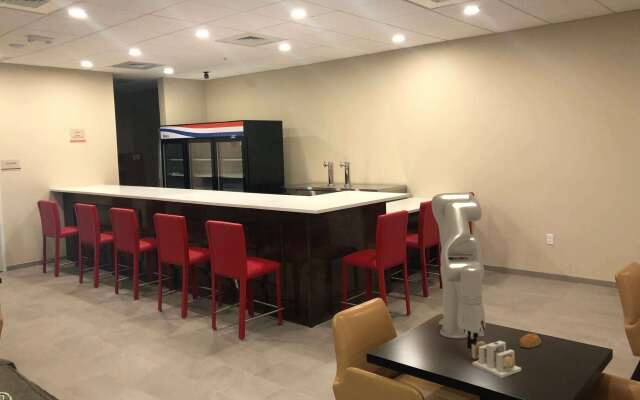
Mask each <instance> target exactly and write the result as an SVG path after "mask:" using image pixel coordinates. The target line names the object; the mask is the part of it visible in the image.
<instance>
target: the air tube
mask: <svg viewBox="0 0 640 400" xmlns="http://www.w3.org/2000/svg"><path fill="white" fill-rule="evenodd" d="M484 345H486V341H483V340H481V341H477V343H473V344H472V349H471V358H473V359H475V360H476V359H479V347H480V346H484ZM498 353H499V351H497V350H496V351H494V362H496V354H498ZM484 354H485V358H487V348H486V349H484ZM496 363H497V362H496ZM503 365H504V366H506V367H508V368H513V367H514V365H515V366H516V359H514V358H512V357H509V356H508V355H505V356H503Z"/></svg>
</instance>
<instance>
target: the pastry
mask: <svg viewBox="0 0 640 400" xmlns="http://www.w3.org/2000/svg"><path fill="white" fill-rule="evenodd" d="M541 343H542V341H541V339H540V337H539V336H538V335H537V334H536V333H534V332H531V333H528V334H525V335H523V336H521V338H519V341H518V344H519V347H521V348H526V349H531V348H536V347H538V346H539V345H540V344H541Z"/></svg>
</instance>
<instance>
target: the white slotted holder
mask: <svg viewBox="0 0 640 400" xmlns="http://www.w3.org/2000/svg"><path fill="white" fill-rule="evenodd" d="M486 348H487V358H485V354H484V349H486ZM497 348H498V349H497ZM497 350H498V352H499V353H498V354H496V362H497V363H496V362H494V351H497ZM505 355H507V356H509V357H512V358H514V359H515V358H516V357H515V350H513V349H508V350H507V342H505V341H502V340H498V341H495V342H490V343H487V344H485V345H484V346H480V347H479V358H478V360H476V361H472V362H471V364H472V366H474V367H476V368H478V369H481V370H483V371H484V372H487V373H489V374H492V375H494V376H496V377H498V378H501V379H503V378H505V377H509V376H511V375H514V374H516V373H519V372H521V371H522V367H521V366H520V367H519V366H518V365H516V364H515V365H514V367H513V368H508V367H506V366H504V365H503V356H505ZM515 360H516V359H515Z"/></svg>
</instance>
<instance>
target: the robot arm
mask: <svg viewBox="0 0 640 400" xmlns="http://www.w3.org/2000/svg"><path fill="white" fill-rule="evenodd" d="M431 210H432V214H433V217H434V219H435V221H436V223H437V226H438V230H439V231H438V232H439V241H440V247H441V252H440V276H441V282H442V293H443V295H442V297H443V298H442V300H443V303H442V304H443V305H442V307H443V318H441V319H440V320H439V321H438V325H441V329H440V330H439V333H440V335H441V336H443V337H445V338H449V339H458V340H459V339H466V338H467V339H466V340H467V342H466V343H467V349H469V350H472V344H473V343H477V342H478V341H477V340H478V338H479V337H483V336H485V332H484V331H486V314H485V309H484V308H485V307H484V304H483V282H482V281H483V279H484V277H485V268H484V267H485V266H484V260H483V254H482V248H481V243H480V240H479V238H478V236H477V235H475V234H471V231H470V225H469V222H478V221H480V220H481V219H482V213H483V211H482V207H481V203H480V202H479V200H478V199H477V198H476V197H475V196H474V194H472V193H471V192H445V193H439V194H436V195H434V196H433V197H432V199H431ZM449 258H458V259H449ZM459 258H460V259H459ZM462 258H464V259H462ZM465 258H467V259H465Z"/></svg>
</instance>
